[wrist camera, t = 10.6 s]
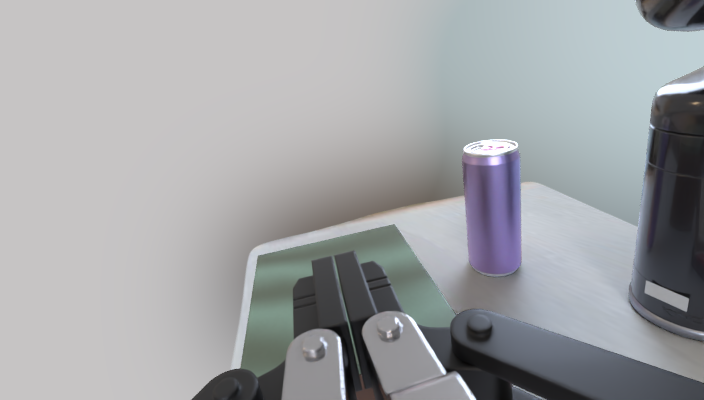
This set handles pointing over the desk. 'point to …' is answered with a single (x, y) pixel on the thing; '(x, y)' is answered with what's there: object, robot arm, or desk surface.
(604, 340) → the desk surface
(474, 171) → the beverage can
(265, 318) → the lid
